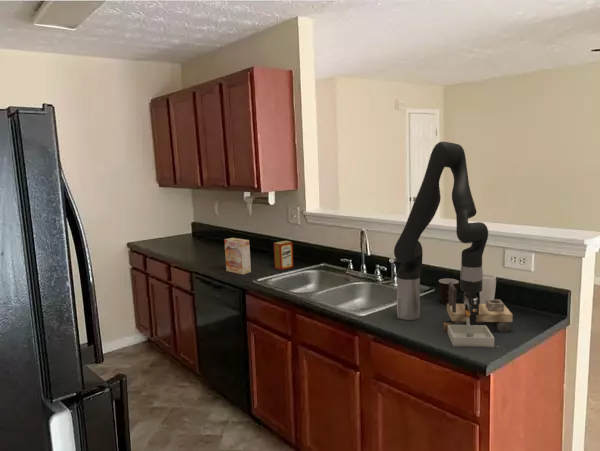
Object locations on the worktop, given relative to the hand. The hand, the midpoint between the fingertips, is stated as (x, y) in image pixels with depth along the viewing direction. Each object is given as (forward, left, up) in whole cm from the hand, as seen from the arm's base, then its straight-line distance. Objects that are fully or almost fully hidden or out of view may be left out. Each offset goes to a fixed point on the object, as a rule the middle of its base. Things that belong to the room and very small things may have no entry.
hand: (470, 320), depth 175 cm
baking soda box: (-87, +107, -8) cm, 138 cm away
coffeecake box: (-113, +98, -8) cm, 150 cm away
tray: (0, 0, -8) cm, 8 cm away
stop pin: (0, +1, -7) cm, 7 cm away
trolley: (+6, +14, -8) cm, 17 cm away
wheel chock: (-6, +9, -8) cm, 13 cm away
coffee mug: (+1, +43, -8) cm, 44 cm away
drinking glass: (+14, +34, -8) cm, 38 cm away
